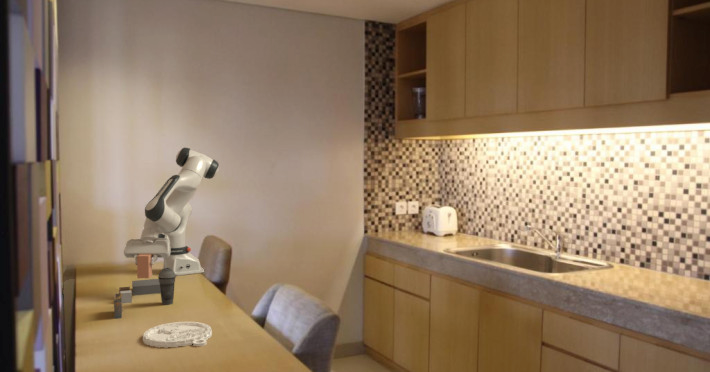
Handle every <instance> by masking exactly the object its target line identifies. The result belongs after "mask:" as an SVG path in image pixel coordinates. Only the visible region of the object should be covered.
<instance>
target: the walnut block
mask: <svg viewBox="0 0 710 372" xmlns="http://www.w3.org/2000/svg"><path fill="white" fill-rule="evenodd" d="M129 290H131V286H123V287H121V286H120V287H118V294H120V291H129Z"/></svg>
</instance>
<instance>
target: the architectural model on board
mask: <svg viewBox="0 0 710 372" xmlns="http://www.w3.org/2000/svg"><path fill="white" fill-rule="evenodd" d="M113 309H114V310H113V312H114V314H113V316H114V318H113V319H115V320H117V319H122V316H123V315H122V314H123V303H122V293H120V294H119V293H114V299H113Z"/></svg>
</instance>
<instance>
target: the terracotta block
mask: <svg viewBox="0 0 710 372" xmlns="http://www.w3.org/2000/svg"><path fill="white" fill-rule="evenodd" d="M152 259H153V258H152V254H140V255H138V256H137V265H136V269H137V270H136V273H137V274H136V276H137V279H150V278H151V277H153V265H150V260H152Z"/></svg>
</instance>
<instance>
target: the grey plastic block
mask: <svg viewBox="0 0 710 372" xmlns="http://www.w3.org/2000/svg"><path fill="white" fill-rule="evenodd" d="M120 293H122V304H130V303H131V304H132V303H133V300H132V299H133V290H131V289H130V290H129V291H120Z"/></svg>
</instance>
